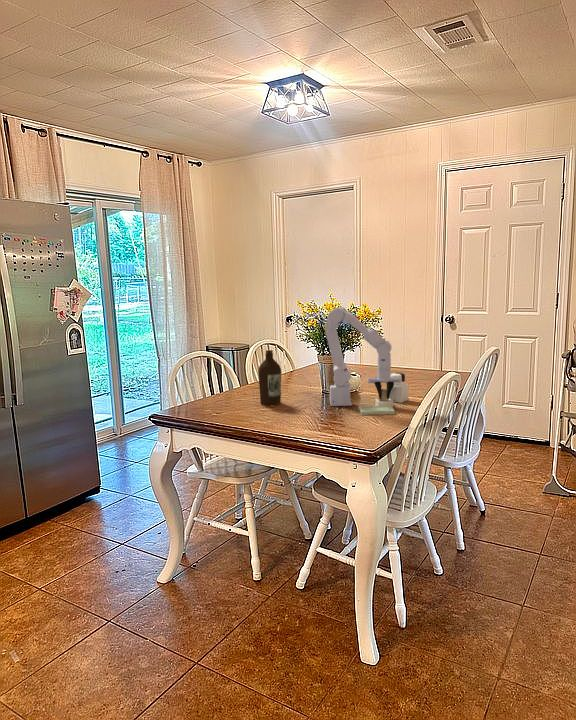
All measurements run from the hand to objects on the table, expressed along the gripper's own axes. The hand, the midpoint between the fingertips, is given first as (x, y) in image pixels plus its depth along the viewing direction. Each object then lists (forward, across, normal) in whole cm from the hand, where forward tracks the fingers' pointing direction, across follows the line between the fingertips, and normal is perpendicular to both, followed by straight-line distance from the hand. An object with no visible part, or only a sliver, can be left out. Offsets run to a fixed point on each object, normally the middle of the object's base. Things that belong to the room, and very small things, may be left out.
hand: (383, 398), depth 240 cm
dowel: (+3, 0, 0) cm, 3 cm away
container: (+4, +8, +11) cm, 14 cm away
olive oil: (+4, -51, +10) cm, 52 cm away
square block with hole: (+3, 0, 0) cm, 3 cm away
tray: (+3, -5, -9) cm, 11 cm away
